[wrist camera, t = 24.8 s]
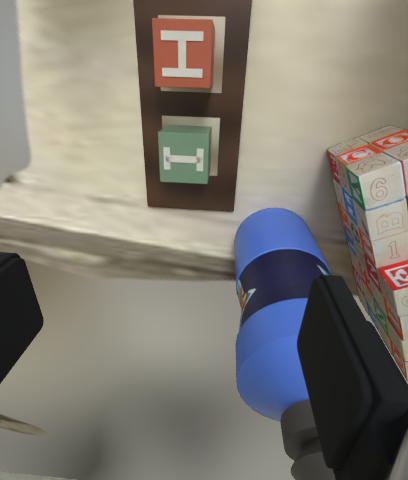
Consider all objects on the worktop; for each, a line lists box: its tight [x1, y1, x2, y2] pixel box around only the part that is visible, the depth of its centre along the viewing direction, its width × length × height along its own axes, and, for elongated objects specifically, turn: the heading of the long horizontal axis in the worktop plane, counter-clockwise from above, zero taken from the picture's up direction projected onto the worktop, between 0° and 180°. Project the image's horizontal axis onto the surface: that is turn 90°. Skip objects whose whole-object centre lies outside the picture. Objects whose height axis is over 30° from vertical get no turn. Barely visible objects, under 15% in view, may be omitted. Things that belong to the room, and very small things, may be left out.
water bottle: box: [235, 208, 336, 480], centre depth 25 cm, size 9×9×25 cm
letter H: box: [152, 18, 215, 89], centre depth 24 cm, size 4×4×5 cm
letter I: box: [158, 125, 212, 184], centre depth 28 cm, size 4×4×5 cm
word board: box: [134, 0, 252, 211], centre depth 29 cm, size 20×10×1 cm, turn 178°
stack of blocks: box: [327, 125, 408, 381], centre depth 28 cm, size 21×6×12 cm, turn 23°
